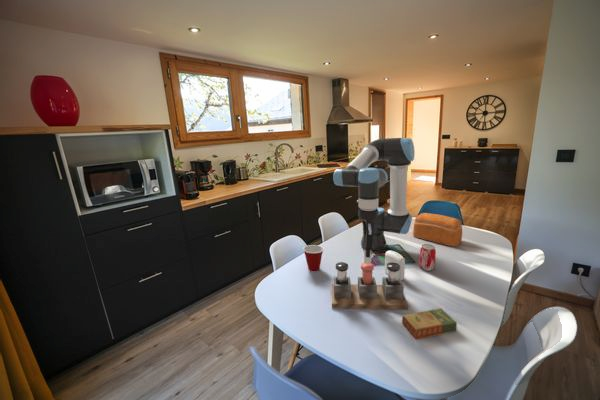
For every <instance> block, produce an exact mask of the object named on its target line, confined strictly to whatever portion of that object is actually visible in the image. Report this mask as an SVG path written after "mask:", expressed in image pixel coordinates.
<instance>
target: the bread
mask: <svg viewBox="0 0 600 400" xmlns="http://www.w3.org/2000/svg"><path fill="white" fill-rule="evenodd" d="M412 236H413V237H415V238H417V239H422V240H424V241H427V242H428V241H429V242H433V243H437V244H440V245H444V246H449V247H453V248H454V247H458V246H459V245H460V244H461V243H462V241H463V226H462V221H461V220H460V219H458V218H455V217H451V216H448V215H442V214H436V213H435V214H434V213H429V212H422V213H420V214H417V216H416V217H415V219H414V222H413V230H412Z"/></svg>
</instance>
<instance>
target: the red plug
mask: <svg viewBox="0 0 600 400" xmlns="http://www.w3.org/2000/svg"><path fill="white" fill-rule="evenodd" d="M360 269H361V271H362V272H361V274H362V276H361V277H362V285H372V277H373V271H374V269H375V265H374V264H373V263H372V262H371V264H364V262H362V263H361V264H360Z"/></svg>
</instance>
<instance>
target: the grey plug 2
mask: <svg viewBox="0 0 600 400" xmlns="http://www.w3.org/2000/svg"><path fill="white" fill-rule="evenodd" d="M387 269H388V274H387V277H388V285H398V271H399V270H400V265H399V264H397V263H393V262H391V263H388V264H387Z"/></svg>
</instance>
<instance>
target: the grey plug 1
mask: <svg viewBox="0 0 600 400" xmlns="http://www.w3.org/2000/svg"><path fill="white" fill-rule="evenodd" d="M335 270H336V275H337V276H336V277H337V284H346V285H347V277H348V270H349V265H348V263H346V262H343V261H340V262H337V263H336V264H335Z"/></svg>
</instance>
